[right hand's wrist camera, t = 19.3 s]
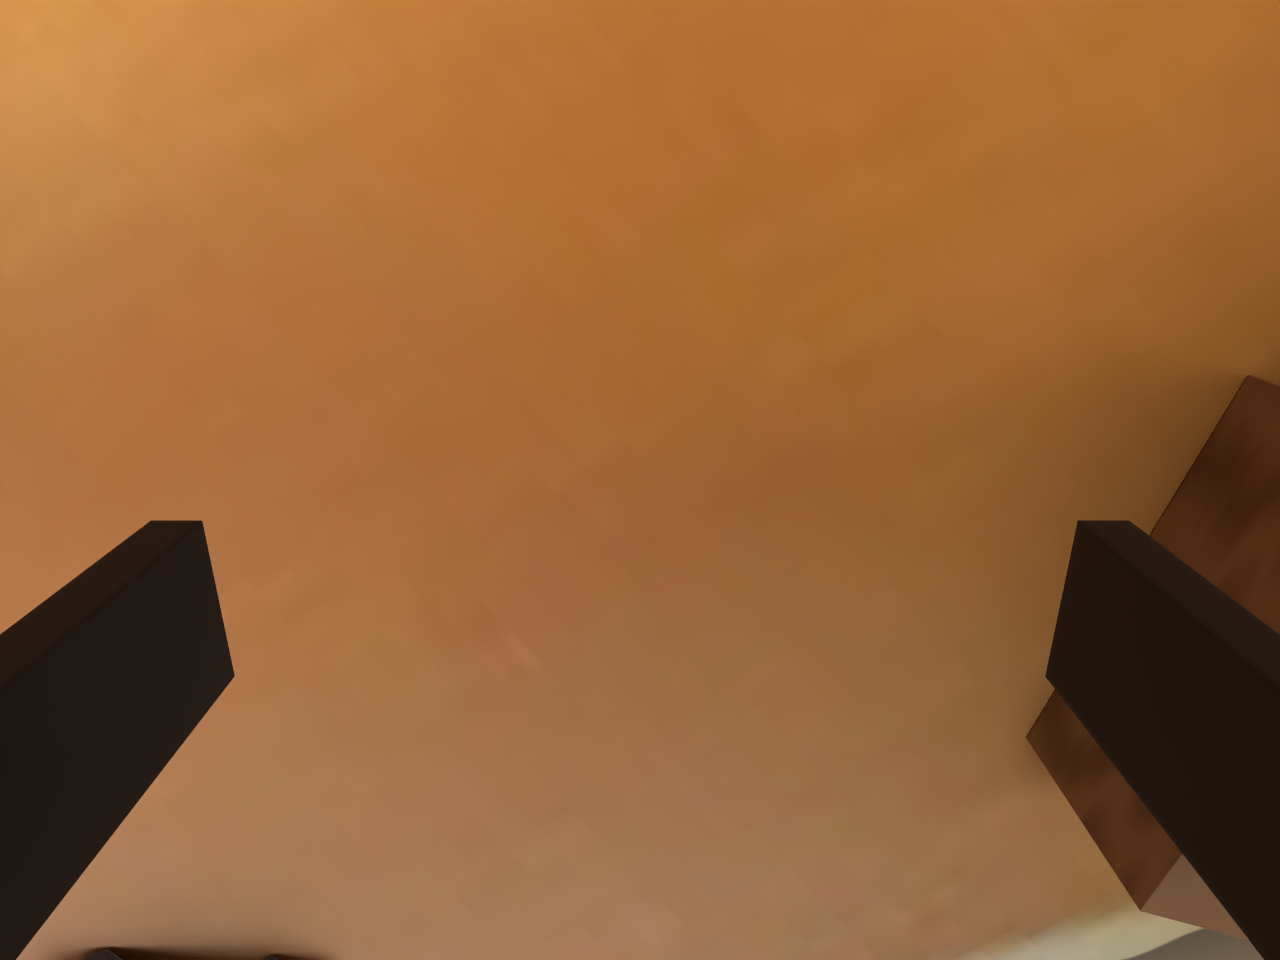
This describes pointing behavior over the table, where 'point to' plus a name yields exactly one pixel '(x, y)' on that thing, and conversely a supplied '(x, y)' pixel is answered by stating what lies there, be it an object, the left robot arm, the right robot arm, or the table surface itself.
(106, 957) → the tool
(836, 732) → the table surface
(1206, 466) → the box
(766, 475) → the table surface
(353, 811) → the table surface
